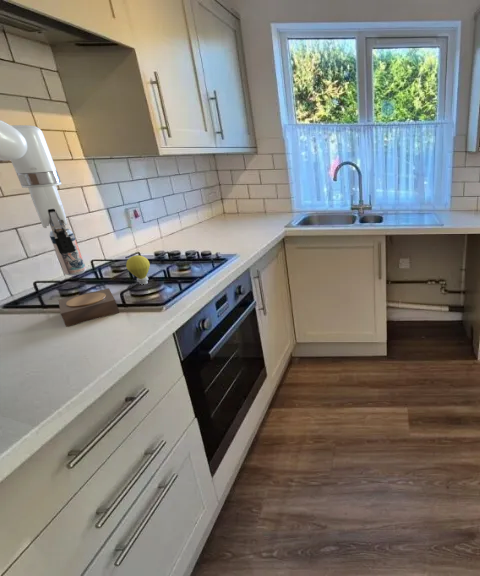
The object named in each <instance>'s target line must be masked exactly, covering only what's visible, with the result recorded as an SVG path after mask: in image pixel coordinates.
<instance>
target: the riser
mask: <svg viewBox="0 0 480 576" xmlns="http://www.w3.org/2000/svg"><path fill="white" fill-rule="evenodd" d="M58 307H59V311H60V312H59V313H60V316H61V318H62V321H63V323H64V325H65V327H66V328H67V327H71V326H75V325H78V324H79V325H80V324H83V323H85V322H88V321H89V322H90V321H93V320H97V319H100V318H105V317H109V316H111V315H116V314H119V313H120V309H119V307H118V304H117V301H116V299H115V296H114V295H113V293H112V291H111V289H110V288H104V289H100V290H96V291H91V292H87V293H82V294H79V295H78V294H77V295H75V296H74V295H73V296H69V297H65V298H62V299H58Z"/></svg>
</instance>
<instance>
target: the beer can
mask: <svg viewBox="0 0 480 576" xmlns="http://www.w3.org/2000/svg"><path fill="white" fill-rule="evenodd" d="M66 230H67V233H68V236H70V237H71V240H72V243H73V245H74V248H75V251H74V252H69V253H64V254H61V253H60V252H59V250H58V247H57V245H56V242H55V240H54V239H55V237H54V234H53V231H52V230H51V231H49V238H50V241H51V243H52V246H53V248H54V251H55V253H56V255H57V258H58V260H59V263H60V266H61V268H62V271H63V273H64V275H66V276H70V277H72V276H78V275H83V274H84V273H85V272H86V271H87V266H86V264H85V261H84V259H83V256H82V253H81V250H80V249H79V246H78V242H77V239H76V237H75V234H74V232H73V231H72V230H71V229H70V228H66ZM64 233H65V232H64Z"/></svg>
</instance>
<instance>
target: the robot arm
mask: <svg viewBox="0 0 480 576" xmlns="http://www.w3.org/2000/svg"><path fill="white" fill-rule="evenodd" d="M0 161H10V162H11V164H12V166H13V168H14V171H15V173H16V176H17V179H18V181H19V184H20V186H21V188H23V189H28V192H29V195H30V198H31V201H32V204H33V206H34V209H35V210H36V213H37V217H38V218H39V220H40V223H41V226H42V228H44V229H47V227H49V226H50V230H51V231H53V234H54V237H55V239H54V240H55V242H56V245H57V247H58V250H59V252H60V253H61V254H64V253H69V252H74V251H75V248H74V245H73V243H72V240H71V237H70V236H68V233H67V230H66V229H67V228H66V226H67V225H68V221H67V220H68V219H67V215H66V211H65V207H64V204H63V202H62V199H61V196H60V192H59V189H58V188H57V186H61V185H62V181H61V178H60V176H59V173H58V171H57V168H56V165H55V162H54V160H53V157H52V154H51V151H50V148H49V146H48V143H47V140H46V137H45V135H44V132H43V131H42V129H41V128H40V127H38V126H35V125H30V124H29V125H26V124H25V125H23V124H19V125H17V124H15V125H14V124H13V125H11V124H9V123H8V122H5V121H3V120H1V119H0ZM64 232H65V233H64Z"/></svg>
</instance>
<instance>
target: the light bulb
mask: <svg viewBox="0 0 480 576" xmlns="http://www.w3.org/2000/svg"><path fill="white" fill-rule="evenodd" d="M150 266H151V263H150V261H149V259H148V258H147V257H145V256H143V255H139V254H138V255H133V256H131V257H129V258H128V259H127V260H126V262H125V267H126V269H127V271H128V272H129V273H130V274H131V275H133V276H134V277H136V282H137V283H139V285H140V284H141V285H140V286H144V285H147V284H148V281H149V277H148V276H147V275H148V273H149V270H150ZM143 284H144V285H143Z"/></svg>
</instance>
